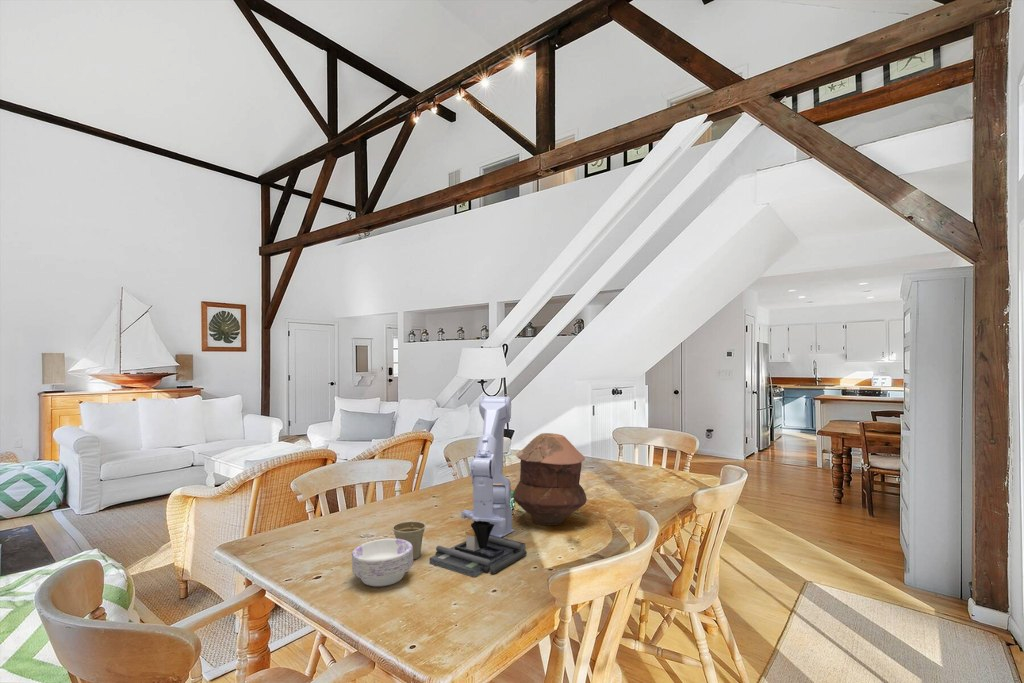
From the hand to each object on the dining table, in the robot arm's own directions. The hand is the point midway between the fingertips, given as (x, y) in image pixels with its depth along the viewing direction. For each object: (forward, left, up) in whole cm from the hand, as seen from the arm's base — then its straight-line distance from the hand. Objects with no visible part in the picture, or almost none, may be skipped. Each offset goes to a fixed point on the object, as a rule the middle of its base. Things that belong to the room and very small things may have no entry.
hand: (483, 547), depth 145 cm
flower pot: (+12, -17, -3) cm, 21 cm away
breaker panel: (0, -1, -3) cm, 3 cm away
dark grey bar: (-7, -1, -3) cm, 8 cm away
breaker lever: (0, -3, -1) cm, 4 cm away
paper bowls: (+26, -12, -3) cm, 29 cm away
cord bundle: (0, -1, -3) cm, 3 cm away
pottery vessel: (-38, 0, -3) cm, 38 cm away
